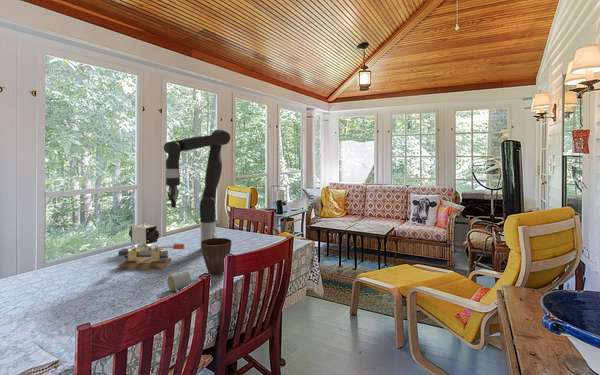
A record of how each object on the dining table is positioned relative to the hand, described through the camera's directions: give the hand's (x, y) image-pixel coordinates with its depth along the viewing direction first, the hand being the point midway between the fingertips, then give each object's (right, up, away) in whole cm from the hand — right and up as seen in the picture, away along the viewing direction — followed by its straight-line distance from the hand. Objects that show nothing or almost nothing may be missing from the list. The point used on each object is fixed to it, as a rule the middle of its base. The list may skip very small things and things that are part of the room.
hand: (173, 207), depth 193 cm
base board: (-10, -30, -13) cm, 34 cm away
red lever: (+3, -21, -13) cm, 25 cm away
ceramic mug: (+21, -34, -46) cm, 61 cm away
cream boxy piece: (-21, -28, +12) cm, 37 cm away
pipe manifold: (-10, -28, -13) cm, 32 cm away
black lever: (-16, -22, -20) cm, 33 cm away
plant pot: (+30, -32, -24) cm, 50 cm away
